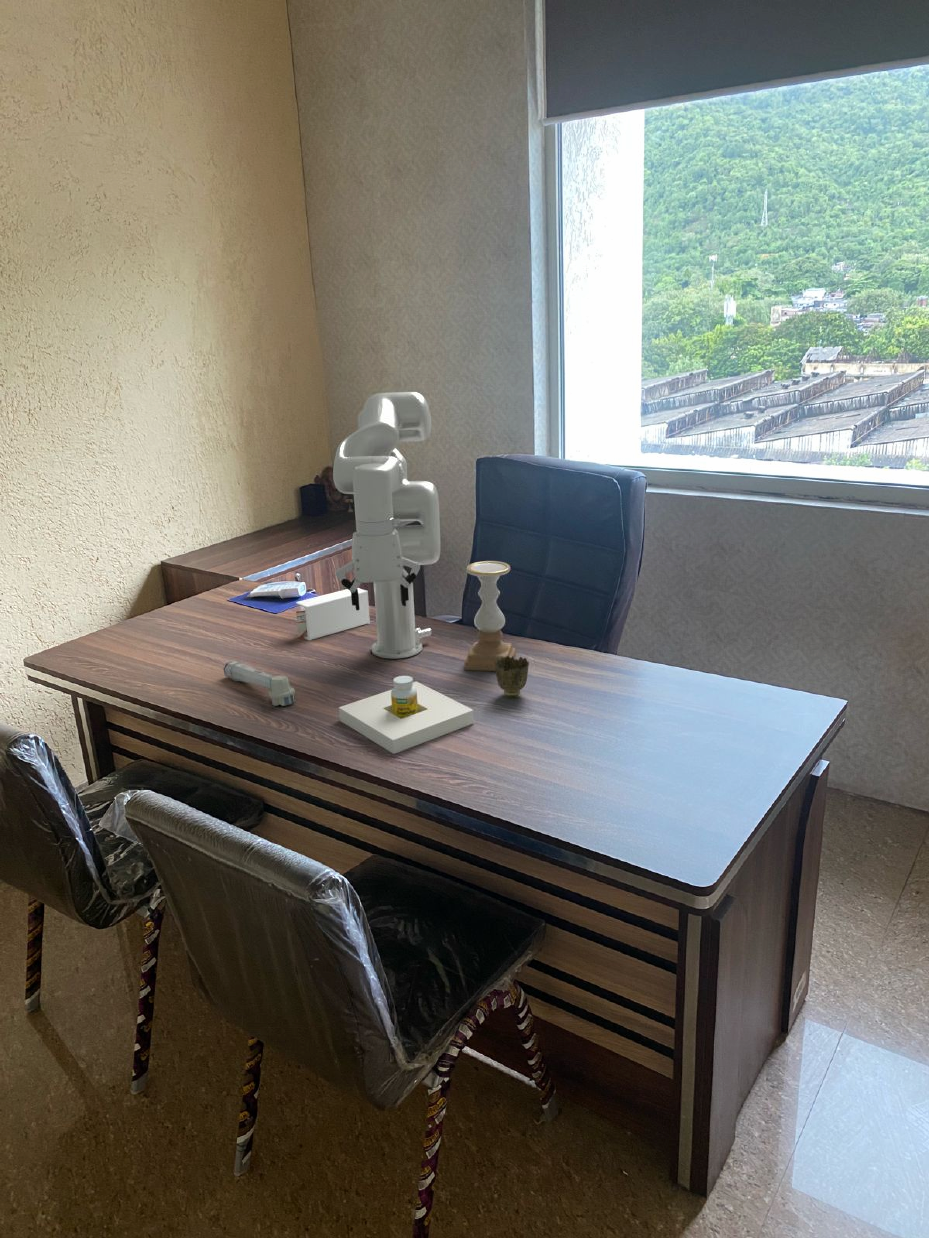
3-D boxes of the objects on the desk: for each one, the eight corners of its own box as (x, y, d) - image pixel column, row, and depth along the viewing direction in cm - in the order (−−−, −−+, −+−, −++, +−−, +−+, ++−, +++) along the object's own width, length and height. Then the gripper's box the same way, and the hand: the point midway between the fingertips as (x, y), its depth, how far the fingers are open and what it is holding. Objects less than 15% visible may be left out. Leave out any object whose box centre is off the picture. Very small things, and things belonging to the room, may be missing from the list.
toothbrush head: (239, 657, 217) (296, 671, 199) (244, 684, 218) (301, 700, 200) (219, 664, 214) (275, 678, 195) (224, 691, 215) (280, 708, 197)
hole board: (416, 693, 203) (416, 681, 202) (473, 723, 188) (473, 709, 187) (339, 720, 191) (338, 707, 190) (393, 753, 177) (392, 740, 176)
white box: (358, 619, 252) (356, 586, 249) (370, 624, 248) (367, 591, 245) (294, 637, 240) (291, 603, 237) (305, 642, 236) (302, 608, 233)
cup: (534, 691, 202) (533, 657, 200) (521, 704, 196) (521, 670, 193) (503, 686, 205) (502, 653, 203) (490, 699, 199) (489, 665, 196)
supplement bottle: (416, 714, 193) (413, 672, 190) (420, 725, 188) (418, 682, 185) (390, 717, 192) (388, 675, 189) (394, 728, 187) (392, 685, 184)
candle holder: (472, 652, 225) (469, 559, 217) (516, 654, 223) (515, 560, 215) (463, 669, 215) (460, 572, 207) (510, 672, 213) (508, 574, 205)
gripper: (415, 518, 188) (419, 596, 194) (330, 524, 185) (337, 603, 192) (420, 528, 181) (424, 608, 187) (332, 535, 178) (339, 616, 185)
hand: (380, 606), depth 190 cm, fingers open, 9 cm apart
